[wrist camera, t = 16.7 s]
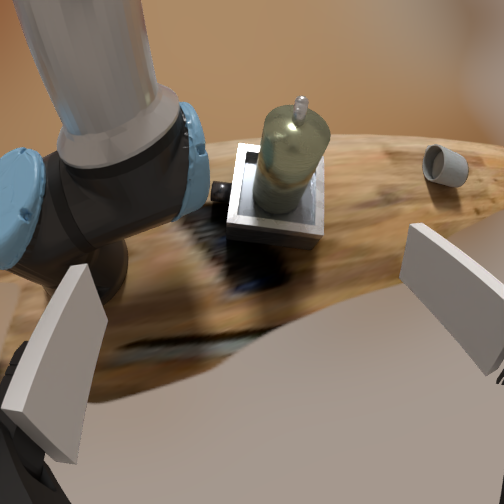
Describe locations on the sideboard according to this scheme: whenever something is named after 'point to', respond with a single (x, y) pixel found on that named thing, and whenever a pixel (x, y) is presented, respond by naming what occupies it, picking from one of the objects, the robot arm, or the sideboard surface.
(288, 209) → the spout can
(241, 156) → the grey rectangular tray
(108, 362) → the sideboard surface
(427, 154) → the ceramic mug
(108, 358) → the sideboard surface
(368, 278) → the sideboard surface
